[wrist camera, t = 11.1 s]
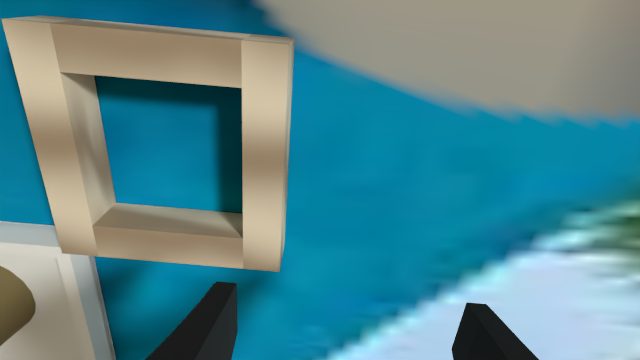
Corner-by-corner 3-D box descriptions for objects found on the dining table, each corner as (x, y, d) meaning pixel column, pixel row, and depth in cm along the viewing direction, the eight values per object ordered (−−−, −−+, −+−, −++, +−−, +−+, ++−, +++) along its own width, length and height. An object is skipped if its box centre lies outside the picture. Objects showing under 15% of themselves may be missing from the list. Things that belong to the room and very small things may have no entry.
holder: (284, 245, 24) (279, 271, 21) (87, 228, 24) (62, 253, 21) (294, 38, 18) (289, 44, 16) (42, 15, 18) (1, 18, 16)
